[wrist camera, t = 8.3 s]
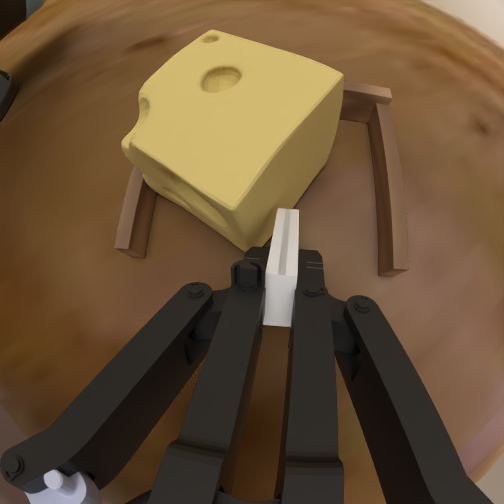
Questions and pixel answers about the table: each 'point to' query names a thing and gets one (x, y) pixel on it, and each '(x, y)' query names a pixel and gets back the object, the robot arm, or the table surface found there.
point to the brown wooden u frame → (385, 174)
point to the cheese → (235, 132)
